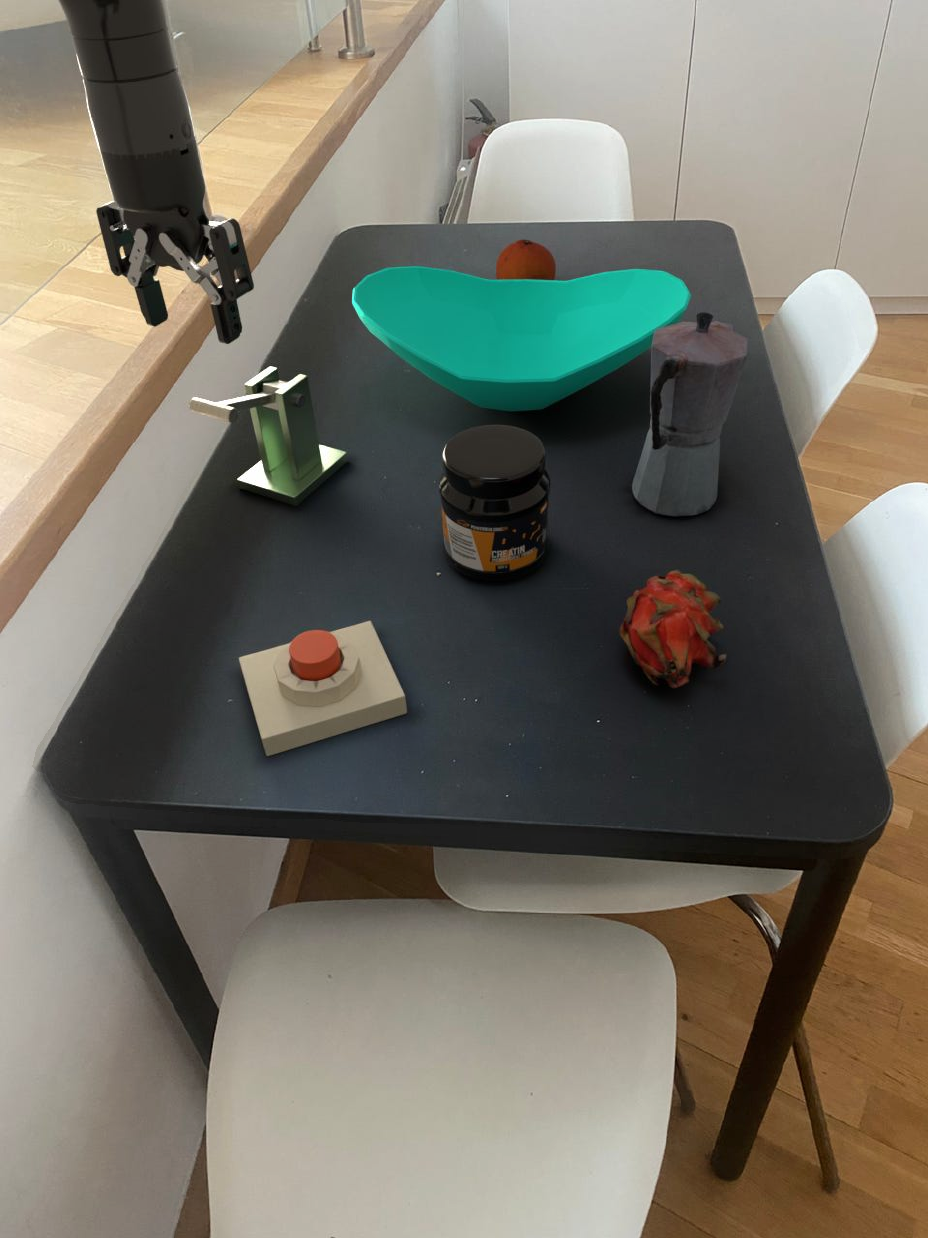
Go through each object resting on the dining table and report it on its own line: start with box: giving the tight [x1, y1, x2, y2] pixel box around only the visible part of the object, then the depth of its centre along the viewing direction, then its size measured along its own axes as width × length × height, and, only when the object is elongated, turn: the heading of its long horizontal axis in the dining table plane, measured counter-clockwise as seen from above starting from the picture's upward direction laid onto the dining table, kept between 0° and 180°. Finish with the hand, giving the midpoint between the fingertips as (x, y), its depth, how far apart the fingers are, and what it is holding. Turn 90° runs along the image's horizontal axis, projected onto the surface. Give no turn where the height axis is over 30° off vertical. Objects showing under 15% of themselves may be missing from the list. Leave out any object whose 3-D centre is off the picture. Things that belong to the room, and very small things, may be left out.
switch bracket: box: [236, 366, 349, 507], centre depth 101 cm, size 10×8×12 cm
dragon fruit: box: [619, 569, 727, 689], centre depth 78 cm, size 8×8×12 cm
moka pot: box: [631, 311, 749, 517], centre depth 91 cm, size 10×15×20 cm, turn 148°
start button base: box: [238, 620, 408, 757], centre depth 78 cm, size 12×10×4 cm
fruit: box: [495, 239, 557, 280], centre depth 136 cm, size 9×9×8 cm
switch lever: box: [189, 380, 289, 424], centre depth 94 cm, size 12×5×2 cm, turn 151°
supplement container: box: [438, 424, 551, 582], centre depth 88 cm, size 10×10×12 cm
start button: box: [289, 629, 341, 681], centre depth 76 cm, size 4×4×2 cm
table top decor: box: [351, 265, 692, 412], centre depth 112 cm, size 40×28×13 cm
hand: (193, 331), depth 83 cm, fingers open, 8 cm apart
